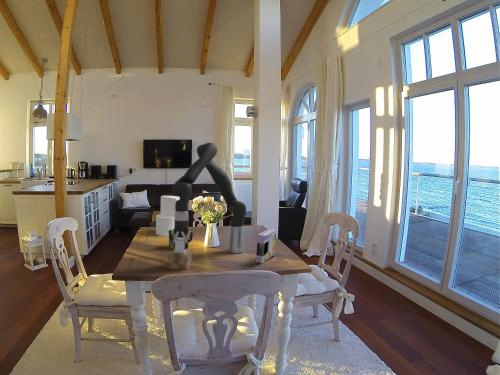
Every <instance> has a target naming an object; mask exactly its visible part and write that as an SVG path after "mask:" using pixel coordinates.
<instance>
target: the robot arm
mask: <svg viewBox="0 0 500 375" xmlns="http://www.w3.org/2000/svg"><path fill="white" fill-rule="evenodd" d="M217 153H218V149H217V145H216V144H215V143H213V142H206V143H203V144H199V145H198V146H197V147H196V154H197V156H198V159H197V160H195V162H193V163H192V164H191V165H190V166H189V167H188V169H187V170H186V171H185V172H184V175H182V176H181V177H180V178H179V179H177V180H176V181H175V182H174V184H173V185H172V193H173V194H174V195H175V196H181V198H180V200H177V201H176V203H175V217H174V219H175V220H174V230H169V236H168V238H169V237H170V241H173V242H174V244H173V247H174V249H175V240H176V239H177V238H178V237H183V238H184V240H185V242H186V243H185V250H188V249H189V243H191V242H192V241H193V237H194V233H195V231H194V230H190V229H189V218H190V217H189V202H190V200H191V196H192V192H193V188H192V185H193V184H194V183H195V182H196V180H197V179H198V177H199V176H200V174H201V173H202V171H203V170H204V169H206V170H207V171H208V173H209V175H210V177H211V178H212V180H213V182H214V184H215V186H216V188H217V189H218V191H219V193H220V194H221V197H222V198H223V200H224V203H225V205H226V207H227V209H228V211H229V212H230V213H231V214H232V219H231V220H230V221H229V230H228V252H229V253H232V254H240V253H239V252H242V253H243V252H244V229H245V228H244V226H245V222H246V216H247V206H246V204H245V203H244V202H242V201H240V200H238V199H237V197H236V196H235V194H234V191H233V187H232V182H231V180H230V178H229V176H228V174H227V172H226V171H225V170H224V169H222V168H221V167H220V166H219V165H217V164H216V163H215V161H214V160H213V159H214V158H215V157H216V155H217ZM173 232H174V233H175V234H176V235H175V238H173ZM188 234H189V235H188ZM188 236H189V237H188ZM174 249H173V250H174Z"/></svg>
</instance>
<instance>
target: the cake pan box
mask: <svg viewBox="0 0 500 375" xmlns="http://www.w3.org/2000/svg"><path fill="white" fill-rule="evenodd" d="M277 231H278V230H277V229H276V228H269V229H266V230H264V231H262V232H261V233H258V234H257V239H256V240H257V241H256V242H257V243H256V254H255V256H256V257H255V263H256V262H264V261H265V260H266V259H268V258H269V257H271V256H273V255H274V254H275V253H276V242H277ZM275 255H276V254H275Z"/></svg>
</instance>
